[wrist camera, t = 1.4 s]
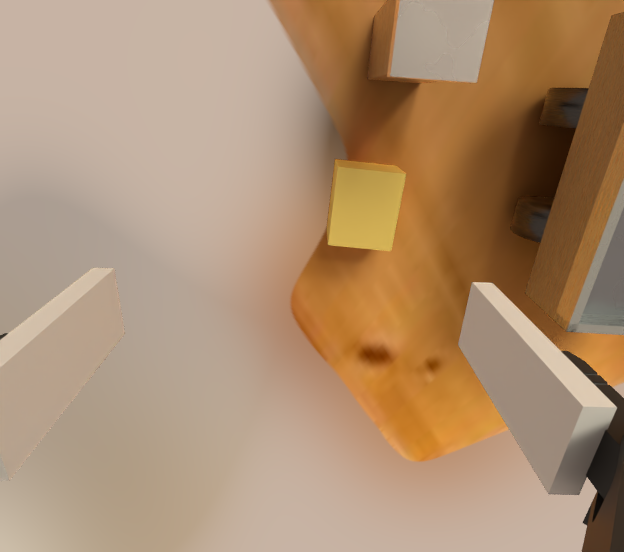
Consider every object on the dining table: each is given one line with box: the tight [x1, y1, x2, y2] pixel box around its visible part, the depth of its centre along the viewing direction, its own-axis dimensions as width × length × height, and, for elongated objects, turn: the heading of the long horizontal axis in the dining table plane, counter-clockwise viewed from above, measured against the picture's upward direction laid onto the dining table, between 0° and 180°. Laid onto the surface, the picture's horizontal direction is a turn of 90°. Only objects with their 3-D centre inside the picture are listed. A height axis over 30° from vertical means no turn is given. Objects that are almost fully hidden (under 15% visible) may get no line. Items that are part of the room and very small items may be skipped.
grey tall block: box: [367, 0, 494, 83], centre depth 24 cm, size 4×4×11 cm
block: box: [326, 159, 406, 251], centre depth 32 cm, size 6×5×4 cm
